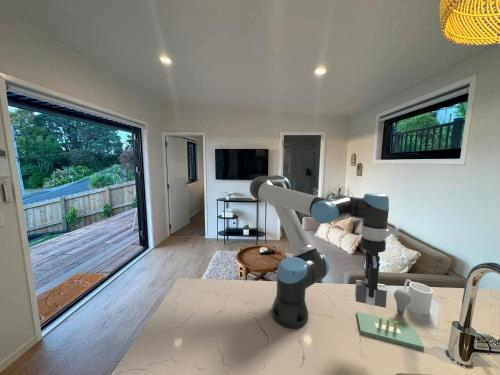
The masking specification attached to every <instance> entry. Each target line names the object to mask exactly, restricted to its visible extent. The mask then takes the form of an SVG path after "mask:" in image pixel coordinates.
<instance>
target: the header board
mask: <svg viewBox="0 0 500 375" xmlns="http://www.w3.org/2000/svg"><path fill="white" fill-rule="evenodd" d="M356 318H357V323H358V329H359V334H361V335H365V336H368V337H369V336H370V337H372V338H377V339H379V340H384V341H387V342H392V343H396V344H399V345H404V346H407V347H410V348H414V349H419V350H422V351H424V350H425V345H424V343H423V342H422V340H421V338H420V336H419V335H418V333H417V330H416V328H415V326H414V325H413V324H412V323H408V322H403V321H400V320H395V319H393V318H388V317H384V316H383V317H382V316H378V315H374V314H370V313H365V312H361V311H356Z"/></svg>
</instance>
